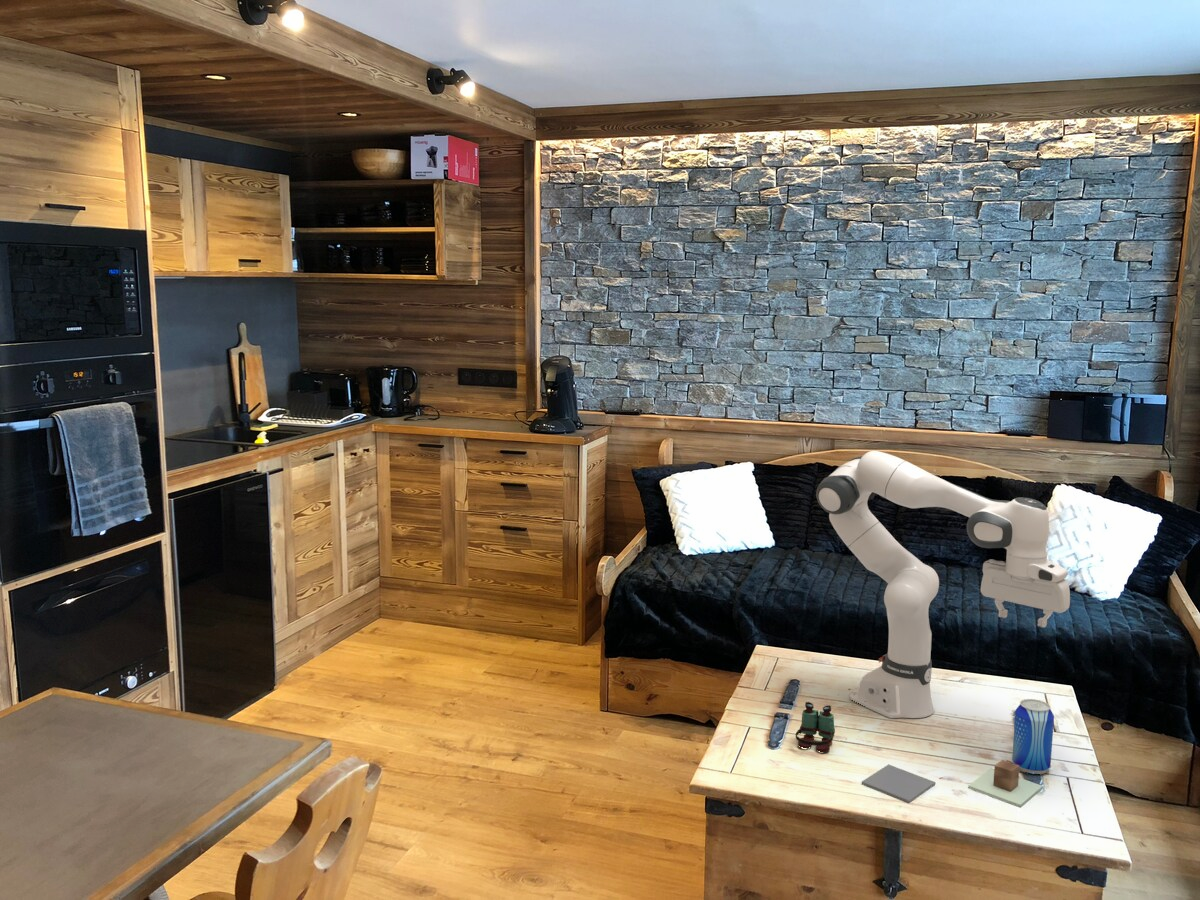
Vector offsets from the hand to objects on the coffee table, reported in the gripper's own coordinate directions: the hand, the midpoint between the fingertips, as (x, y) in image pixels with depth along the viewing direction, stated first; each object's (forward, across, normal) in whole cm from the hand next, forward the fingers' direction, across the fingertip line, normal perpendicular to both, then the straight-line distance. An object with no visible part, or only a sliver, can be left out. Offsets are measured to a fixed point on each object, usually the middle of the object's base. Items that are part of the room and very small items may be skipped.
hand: (1022, 621), depth 234 cm
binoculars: (+34, -36, -32) cm, 59 cm away
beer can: (+34, +6, -4) cm, 35 cm away
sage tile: (+34, +6, -18) cm, 39 cm away
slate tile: (+34, -12, -34) cm, 50 cm away
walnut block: (+34, +6, -18) cm, 38 cm away
